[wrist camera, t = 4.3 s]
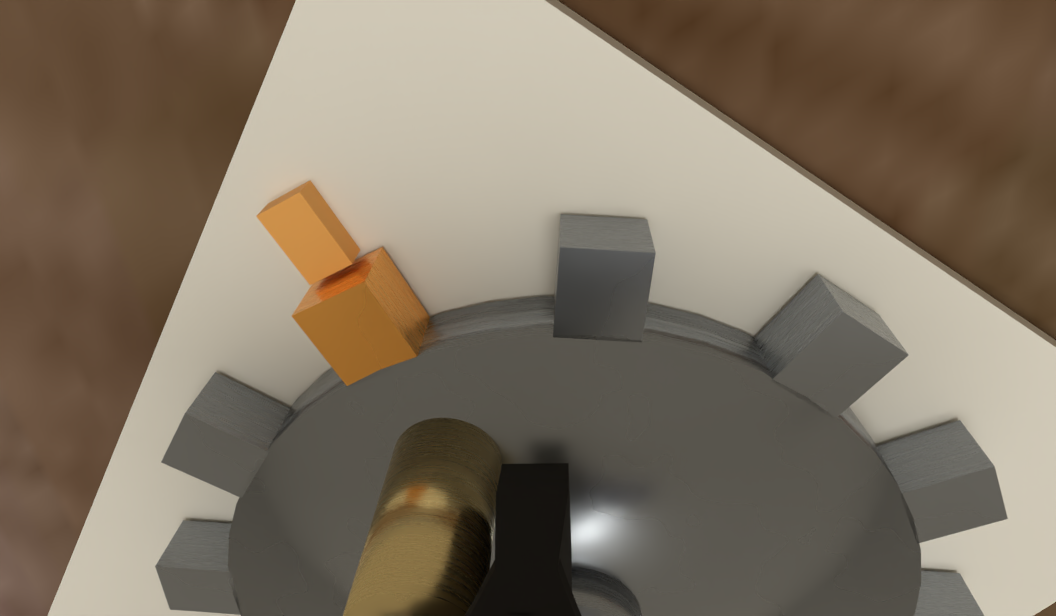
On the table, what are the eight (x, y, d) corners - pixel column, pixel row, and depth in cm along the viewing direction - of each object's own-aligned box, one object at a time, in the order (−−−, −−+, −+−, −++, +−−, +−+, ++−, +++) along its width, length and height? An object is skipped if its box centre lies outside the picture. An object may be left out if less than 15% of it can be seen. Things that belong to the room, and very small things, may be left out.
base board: (650, 815, 26) (654, 866, 25) (63, 597, 21) (29, 647, 20) (1217, 450, 16) (1277, 501, 15) (366, -130, 11) (338, -134, 10)
